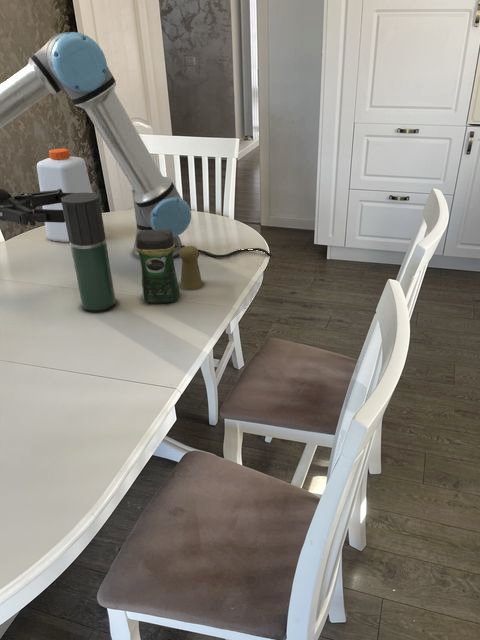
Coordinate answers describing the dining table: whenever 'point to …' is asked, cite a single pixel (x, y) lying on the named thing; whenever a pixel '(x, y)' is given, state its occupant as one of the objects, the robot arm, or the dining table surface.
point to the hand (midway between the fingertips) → (75, 207)
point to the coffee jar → (157, 265)
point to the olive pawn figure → (190, 268)
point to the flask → (94, 276)
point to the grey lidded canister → (83, 218)
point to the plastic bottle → (62, 184)
